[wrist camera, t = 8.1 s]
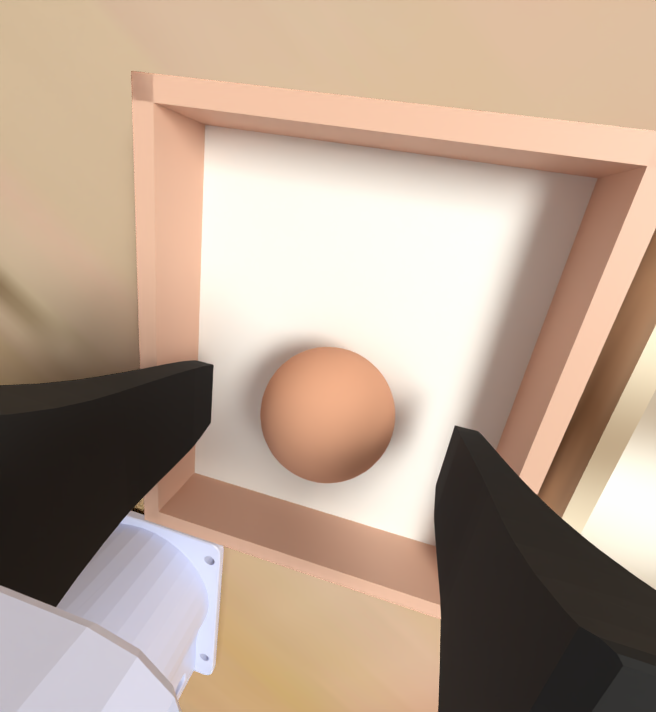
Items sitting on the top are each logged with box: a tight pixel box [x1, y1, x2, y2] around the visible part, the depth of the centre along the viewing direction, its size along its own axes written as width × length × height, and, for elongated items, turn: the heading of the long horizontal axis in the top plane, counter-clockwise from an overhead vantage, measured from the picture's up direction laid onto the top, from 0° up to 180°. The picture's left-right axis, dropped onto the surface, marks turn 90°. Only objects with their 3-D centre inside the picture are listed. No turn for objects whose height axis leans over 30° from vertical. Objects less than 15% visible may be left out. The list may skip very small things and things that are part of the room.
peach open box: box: [131, 71, 656, 619], centre depth 12 cm, size 14×12×3 cm
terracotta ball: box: [260, 347, 395, 483], centre depth 12 cm, size 4×4×4 cm
